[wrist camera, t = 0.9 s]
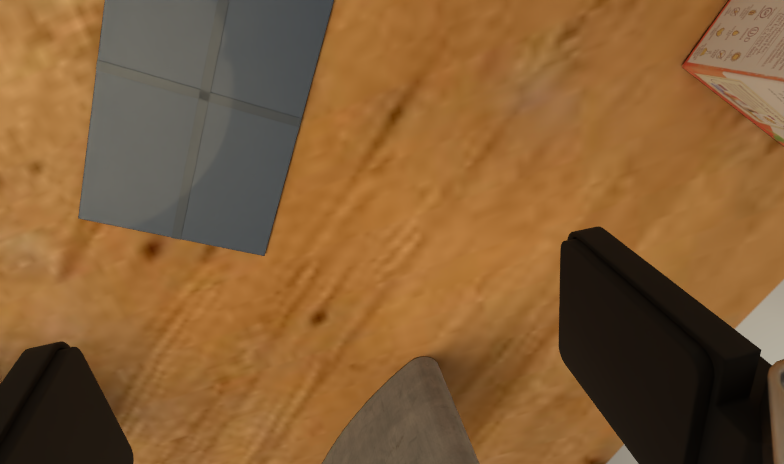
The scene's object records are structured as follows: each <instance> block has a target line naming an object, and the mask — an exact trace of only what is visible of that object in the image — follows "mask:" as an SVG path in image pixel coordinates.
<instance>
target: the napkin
mask: <svg viewBox="0 0 784 464" xmlns="http://www.w3.org/2000/svg"><path fill="white" fill-rule="evenodd" d="M333 2H334V0H105V4H104V12H103V20H102V28H101V36H100V45H99V53H98V60H97V66H96V77H95V86H94V94H93V102H92V110H91V119H90V127H89V135H88V143H87V151H86V160H85V168H84V176H83V184H82V192H81V201H80V209H79V217H78V218H79V219H84V220H89V221H94V222H99V223H104V224H109V225H114V226H119V227H123V228H128V229H133V230H138V231H143V232H148V233H153V234H158V235H163V236H168V237H171V238H175V239H180V240H181V239H183V240H188V241H193V242H198V243H203V244H208V245H213V246H218V247H222V248H227V249H232V250H237V251H242V252H247V253H252V254H257V255H262V256H265V252H266V248H267V245H268V241H269V237H270V234H271V230H272V226H273V223H274V219H275V215H276V212H277V208H278V204H279V201H280V197H281V193H282V189H283V186H284V182H285V178H286V175H287V171H288V167H289V164H290V160H291V156H292V153H293V149H294V145H295V142H296V138H297V134H298V131H299V127H300V124H301V120H302V116H303V112H304V108H305V105H306V101H307V97H308V94H309V90H310V86H311V83H312V79H313V75H314V72H315V68H316V64H317V60H318V57H319V53H320V49H321V46H322V42H323V38H324V35H325V31H326V27H327V24H328V20H329V16H330V13H331V9H332V5H333Z"/></svg>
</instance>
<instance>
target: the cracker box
mask: <svg viewBox="0 0 784 464" xmlns="http://www.w3.org/2000/svg"><path fill="white" fill-rule="evenodd" d="M682 67H683V68H684V69H685V70H686V71H688V72H689V73H690V74H692V75H693V76H694V77H695V78H697V79H698V80H699V81H701V82H702V83H703V84H704V85H706V86H707V87H708V88H709V89H711V90H712V91H713V92H715V93H716V94H717V95H718V96H720V97H721V98H722V99H724V100H725V101H726V102H728V103H729V104H730V105H732V106H733V107H734V108H735V109H737V110H738V111H739V112H740V113H742V114H743V115H744V116H746V117H747V118H748V119H749V120H751V121H752V122H753V123H754V124H756V125H757V126H758V127H760V128H761V129H762V130H763V131H765V132H766V133H767V134H768V135H770V136H771V137H772V138H774V139H775V140H776V141H778V142H779V143H780V144H782V145H783V146H784V0H729V1H728V2H727V4H726V5H725V7H724V8H723V9H722V11H721V12H720V14H719V15H718V16H717V18H716V19H715V21H714V22H713V23H712V25H711V26H710V27H709V29H708V30H707V32H706V33H705V35H704V36H703V37H702V39H701V40H700V41H699V43H698V44H697V46H696V47H695V48H694V50H693V51H692V52H691V54H690V55H689V57H688V58H687V60H686V61H685V62H684V64H683V65H682Z"/></svg>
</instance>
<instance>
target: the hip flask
mask: <svg viewBox="0 0 784 464" xmlns="http://www.w3.org/2000/svg"><path fill="white" fill-rule="evenodd" d="M322 464H479V462H478V459H477V457H476V454H475V452H474V450H473V447H472V445H471V442H470V440H469V438H468V435H467V433H466V430H465V428H464V426H463V423H462V421H461V418H460V416H459V414H458V411H457V409H456V406H455V404H454V401H453V399H452V397H451V394H450V392H449V389H448V387H447V385H446V382H445V380H444V377H443V375H442V373H441V370H440V368H439V365H438V363H437V362H436V361H435V360H434V359H432V358H430V357H419V358H416V359H414V360H412V361H411V362H409V363H408V364H407V365H406V366H404V367H403V368H402V369H401V370H400V371H398V372H397V373H396V374H395V375H394V376H393V377H392V378H390V379H389V380H388V381H387V382H386V383H385V384H384V385H383V386H382V387H381V388H380V389H379V390H378V391H377V392H376V393H375V394H374V395H373V396H372V397H371V398H370V399H369V400H368V402H367V403H366V404H365V405H364V406H363V407H362V408H361V409H360V411H359V412H358V413H357V414H356V415H355V417H354V418H353V419H352V420H351V421H350V423H349V424H348V425H347V426H346V428H345V429H344V430H343V432H342V433H341V435H340V436H339V437H338V439H337V440H336V442H335V443H334V445H333V446H332V448H331V449H330V451H329V453H328V454H327V456H326V458H325V460H324V461H323V463H322Z"/></svg>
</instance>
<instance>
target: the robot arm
mask: <svg viewBox="0 0 784 464" xmlns="http://www.w3.org/2000/svg"><path fill="white" fill-rule="evenodd" d="M559 351H560V354H561V357H562V360H563V362H564V363H565V365H566V366H567V367H568V369H569V370H570V371H571V373H572V374H573V375H574V377H575V378H576V380H577V381H578V382H579V384H580V385H581V386H582V388H583V389H584V390H585V392H586V393H587V394H588V396H589V397H590V398H591V400H592V401H593V403H594V404H595V405H596V407H597V408H598V409H599V411H600V412H601V413H602V415H603V416H604V417H605V419H606V420H607V421H608V423H609V424H610V425H611V427H612V428H613V430H614V431H615V432H616V434H617V435H618V436H619V438H620V439H621V440H622V442H623V443H624V444H625V446H626V447H627V448H628V450H629V451H630V452H631V454H632V455H633V457H634V458H635V459H636V461H637V462H638V463H639V464H784V359H783V360H780V361H777V362H776V363H775V364H774V365H771V364H769V363H768V362H767V361H766V360H764V359H763V358H762V357H760V353H761V349H759V348H758V347H757V346H755V345H754V344H753V343H751V342H750V341H749V340H748V339H746V338H745V337H744V336H742V335H741V334H740V333H738V332H737V331H736V330H735V329H733V328H732V327H731V326H729V325H728V324H727V323H726V322H724V321H723V320H722V319H720V318H719V317H718V316H716V315H715V314H714V313H713V312H711V311H710V310H709V309H707V308H706V307H705V306H703V305H702V304H701V303H700V302H698V301H697V300H696V299H694V298H693V297H692V296H690V295H689V294H688V293H687V292H685V291H684V290H683V289H681V288H680V287H679V286H677V285H676V284H675V283H674V282H672V281H671V280H670V279H668V278H667V277H666V276H664V275H663V274H662V273H661V272H659V271H658V270H657V269H655V268H654V267H653V266H651V265H650V264H649V263H648V262H646V261H645V260H644V259H642V258H641V257H640V256H638V255H637V254H636V253H635V252H633V251H632V250H631V249H629V248H628V247H627V246H625V245H624V244H623V243H622V242H620V241H619V240H618V239H616V238H615V237H614V236H612V235H611V234H610V233H609V232H607V231H606V230H605V229H603V228H601V227H593V228H588V229H584V230H579V231H574V232H571V233H570V234H569V236H568V240H566V241H563V242H562V244H561V258H560V306H559ZM133 461H134V460H133V452H132V449H131V446H130V445H129V443H128V441H127V439H126V437H125V435H124V433H123V431H122V429H121V427H120V425H119V423H118V421H117V419H116V417H115V416H114V414H113V412H112V410H111V408H110V406H109V404H108V402H107V400H106V398H105V396H104V394H103V392H102V390H101V388H100V387H99V385H98V383H97V381H96V379H95V377H94V375H93V373H92V371H91V369H90V367H89V365H88V363H87V361H86V359H85V358H84V356H83V354H82V352H81V351H80V349H78V348H77V347H71V348H70V346H69V345H68V344H67V343H65V342H57V343H52V344H47V345H43V346H38V347H33V348H29V349H26V350H25V351H24V352H23V353H22V354H21V356H20V357H19V359H18V360H17V361H16V363H15V364H14V366H13V367H12V369H11V370H10V372H9V373H8V374H7V376H6V377H5V379H4V380H3V382H2V383H1V384H0V464H133Z"/></svg>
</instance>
